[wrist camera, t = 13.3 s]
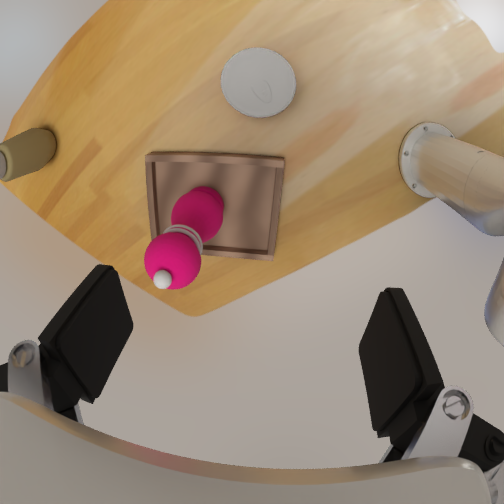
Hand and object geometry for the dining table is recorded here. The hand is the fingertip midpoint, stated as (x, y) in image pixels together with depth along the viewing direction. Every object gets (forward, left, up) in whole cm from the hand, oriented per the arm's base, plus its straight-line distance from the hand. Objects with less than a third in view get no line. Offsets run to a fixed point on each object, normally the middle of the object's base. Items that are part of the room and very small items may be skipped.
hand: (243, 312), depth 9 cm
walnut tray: (+7, +9, -33) cm, 35 cm away
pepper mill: (+8, +9, -32) cm, 34 cm away
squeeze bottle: (+40, -2, -33) cm, 52 cm away
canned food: (+1, -9, -33) cm, 34 cm away
